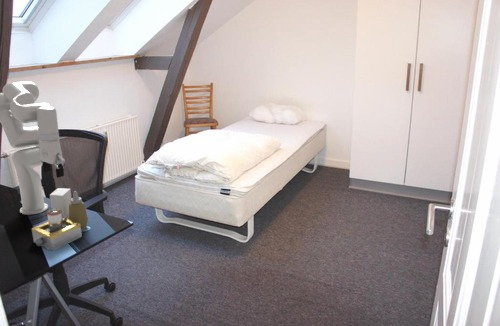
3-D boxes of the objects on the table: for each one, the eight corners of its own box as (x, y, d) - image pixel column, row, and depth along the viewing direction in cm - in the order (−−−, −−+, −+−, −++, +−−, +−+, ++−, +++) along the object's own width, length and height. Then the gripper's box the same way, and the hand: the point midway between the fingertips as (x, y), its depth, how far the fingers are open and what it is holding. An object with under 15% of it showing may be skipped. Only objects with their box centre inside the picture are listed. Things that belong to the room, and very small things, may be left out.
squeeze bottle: (82, 232, 177) (77, 195, 171) (66, 230, 178) (61, 193, 173) (92, 224, 184) (88, 188, 179) (76, 222, 186) (72, 187, 180)
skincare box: (61, 217, 191) (57, 187, 186) (75, 218, 190) (71, 188, 186) (52, 225, 183) (48, 194, 178) (67, 225, 182) (62, 194, 178)
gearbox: (29, 244, 166) (26, 230, 164) (63, 229, 179) (61, 216, 177) (48, 252, 160) (45, 238, 158) (81, 236, 173) (80, 223, 171)
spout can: (46, 229, 168) (44, 212, 166) (62, 222, 174) (60, 206, 172) (54, 232, 165) (52, 215, 163) (70, 226, 171) (68, 209, 169)
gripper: (28, 134, 167) (33, 171, 173) (53, 142, 159) (57, 181, 164) (45, 130, 173) (50, 167, 179) (69, 138, 165) (73, 176, 171)
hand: (53, 173), depth 172 cm, fingers open, 9 cm apart
